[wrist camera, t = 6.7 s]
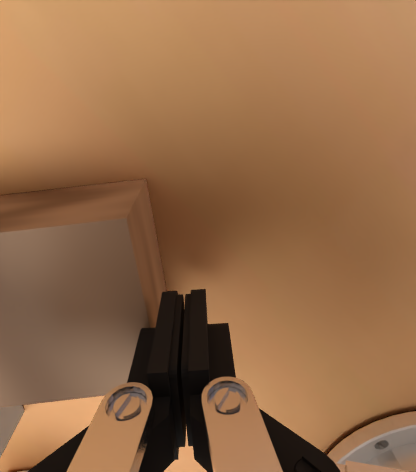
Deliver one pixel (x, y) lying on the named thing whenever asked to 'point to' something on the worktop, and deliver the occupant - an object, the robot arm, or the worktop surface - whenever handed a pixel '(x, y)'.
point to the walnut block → (75, 289)
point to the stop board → (8, 423)
